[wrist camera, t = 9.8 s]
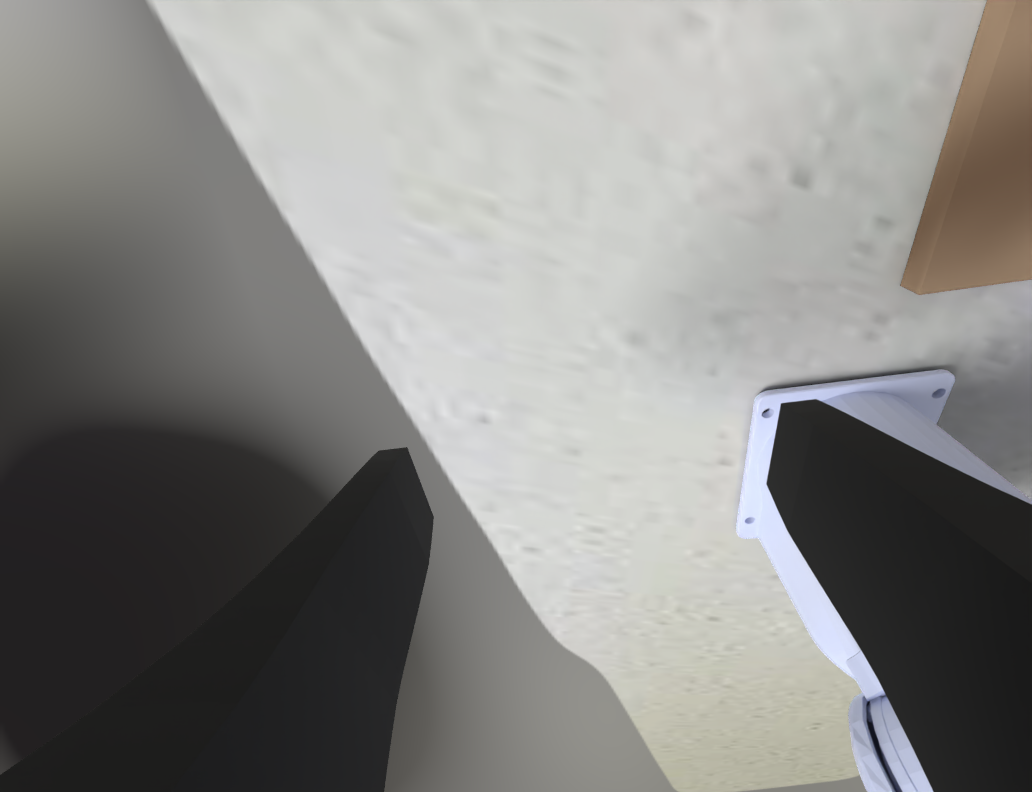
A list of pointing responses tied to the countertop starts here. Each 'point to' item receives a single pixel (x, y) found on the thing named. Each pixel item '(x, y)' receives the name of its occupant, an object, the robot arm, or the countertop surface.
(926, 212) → the walnut board
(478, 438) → the countertop surface
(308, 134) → the countertop surface
